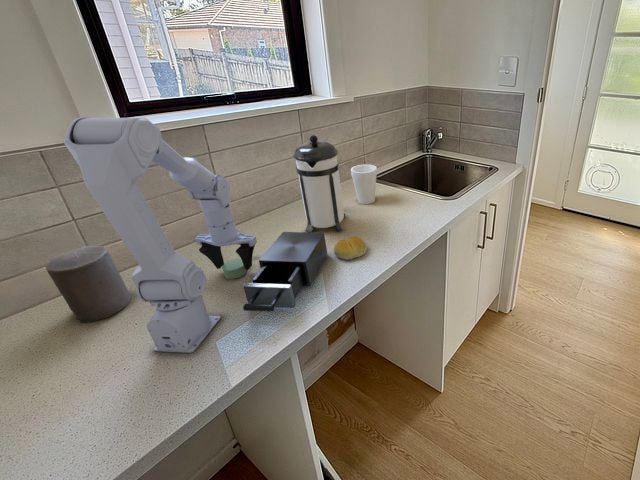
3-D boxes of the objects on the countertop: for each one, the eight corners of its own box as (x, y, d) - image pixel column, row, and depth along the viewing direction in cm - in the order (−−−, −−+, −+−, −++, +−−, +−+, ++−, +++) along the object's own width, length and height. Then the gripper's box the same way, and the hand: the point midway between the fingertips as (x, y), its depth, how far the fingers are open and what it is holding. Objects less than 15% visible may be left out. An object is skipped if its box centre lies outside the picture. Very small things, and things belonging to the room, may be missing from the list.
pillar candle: (72, 329, 71) (35, 272, 64) (80, 303, 78) (47, 249, 71) (131, 309, 76) (102, 255, 69) (133, 287, 83) (107, 235, 76)
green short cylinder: (240, 279, 86) (238, 270, 85) (220, 278, 86) (217, 270, 85) (251, 266, 91) (249, 258, 89) (232, 265, 91) (229, 257, 90)
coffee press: (360, 222, 112) (352, 134, 99) (318, 241, 102) (302, 145, 89) (332, 207, 123) (321, 125, 110) (291, 222, 113) (273, 134, 99)
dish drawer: (284, 323, 71) (279, 303, 68) (237, 322, 71) (230, 301, 69) (313, 273, 86) (310, 255, 84) (274, 272, 87) (269, 253, 84)
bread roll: (332, 248, 98) (330, 237, 96) (362, 242, 102) (360, 230, 100) (337, 264, 92) (336, 251, 90) (369, 256, 95) (368, 244, 93)
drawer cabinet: (310, 287, 83) (305, 261, 80) (265, 285, 84) (258, 260, 80) (327, 255, 95) (324, 232, 92) (288, 254, 96) (283, 231, 92)
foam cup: (383, 199, 129) (381, 167, 124) (368, 208, 122) (365, 174, 117) (365, 193, 134) (362, 162, 128) (349, 202, 127) (345, 169, 121)
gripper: (257, 214, 85) (269, 258, 91) (202, 213, 85) (217, 257, 91) (242, 228, 78) (255, 275, 84) (183, 227, 79) (200, 273, 85)
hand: (234, 267), depth 88 cm, fingers open, 7 cm apart
